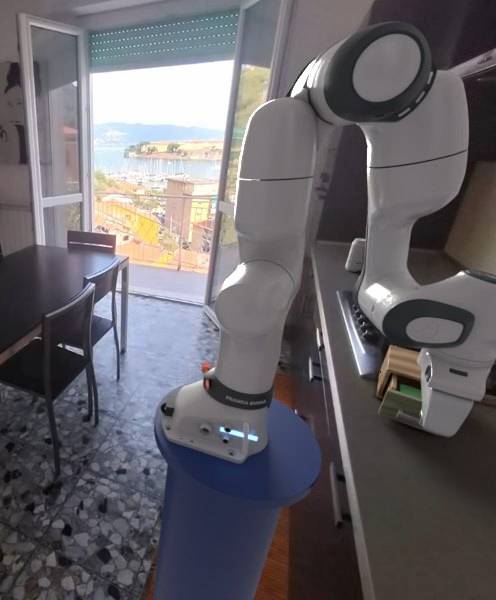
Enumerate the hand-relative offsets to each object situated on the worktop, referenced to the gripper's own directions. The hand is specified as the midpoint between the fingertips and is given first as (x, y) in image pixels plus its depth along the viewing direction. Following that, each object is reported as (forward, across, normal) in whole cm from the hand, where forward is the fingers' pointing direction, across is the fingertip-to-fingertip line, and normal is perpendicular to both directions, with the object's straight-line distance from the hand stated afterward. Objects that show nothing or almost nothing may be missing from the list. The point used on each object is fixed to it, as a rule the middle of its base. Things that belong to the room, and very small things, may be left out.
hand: (424, 423), depth 67 cm
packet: (+8, -15, 0) cm, 17 cm away
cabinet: (+10, -26, 0) cm, 27 cm away
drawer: (+9, -14, 0) cm, 17 cm away
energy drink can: (+9, -124, -22) cm, 126 cm away
